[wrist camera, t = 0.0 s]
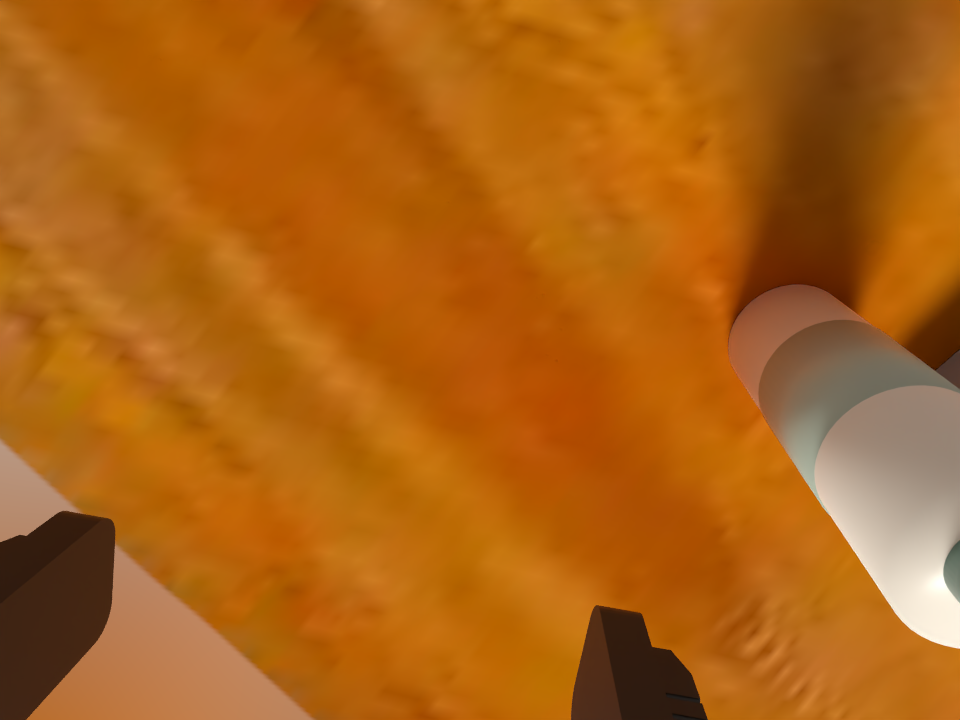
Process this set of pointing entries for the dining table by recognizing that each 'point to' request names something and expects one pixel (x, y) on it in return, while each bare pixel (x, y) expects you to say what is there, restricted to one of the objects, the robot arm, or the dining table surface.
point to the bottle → (864, 442)
